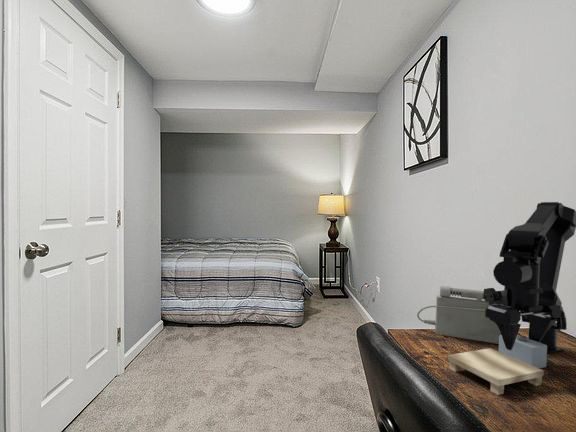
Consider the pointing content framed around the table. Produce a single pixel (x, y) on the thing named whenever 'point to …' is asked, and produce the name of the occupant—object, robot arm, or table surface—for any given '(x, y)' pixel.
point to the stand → (495, 368)
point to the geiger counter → (463, 315)
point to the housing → (526, 351)
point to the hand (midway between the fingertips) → (522, 347)
